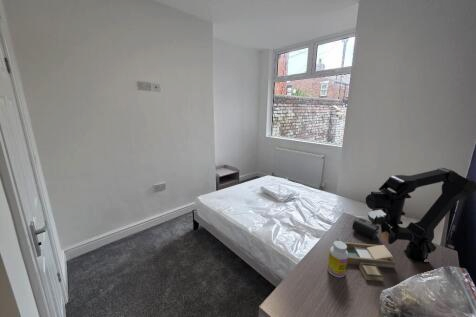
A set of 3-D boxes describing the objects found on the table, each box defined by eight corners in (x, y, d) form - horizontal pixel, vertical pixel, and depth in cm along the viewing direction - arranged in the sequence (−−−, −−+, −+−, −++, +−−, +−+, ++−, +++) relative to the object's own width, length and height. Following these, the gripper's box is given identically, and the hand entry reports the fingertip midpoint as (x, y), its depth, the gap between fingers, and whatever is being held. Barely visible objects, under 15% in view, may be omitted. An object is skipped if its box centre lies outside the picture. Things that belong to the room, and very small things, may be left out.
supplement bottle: (337, 281, 76) (342, 253, 73) (323, 268, 82) (326, 242, 79) (349, 274, 79) (353, 247, 76) (334, 262, 85) (338, 237, 81)
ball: (378, 237, 87) (379, 229, 86) (389, 238, 86) (391, 229, 85) (383, 244, 83) (385, 235, 81) (395, 245, 82) (397, 236, 81)
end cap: (351, 232, 105) (353, 221, 103) (357, 227, 109) (359, 216, 107) (372, 242, 97) (374, 230, 95) (378, 236, 101) (380, 225, 99)
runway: (381, 250, 91) (383, 241, 90) (394, 268, 82) (396, 258, 80) (336, 246, 94) (337, 237, 93) (343, 263, 85) (345, 253, 83)
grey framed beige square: (374, 268, 82) (375, 264, 81) (382, 281, 76) (383, 276, 75) (359, 267, 82) (359, 262, 82) (365, 279, 77) (366, 274, 76)
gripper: (362, 195, 90) (357, 225, 94) (384, 218, 72) (377, 254, 77) (389, 196, 88) (382, 227, 93) (419, 220, 71) (409, 257, 75)
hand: (386, 240), depth 84 cm, fingers closed on ball, 4 cm apart
